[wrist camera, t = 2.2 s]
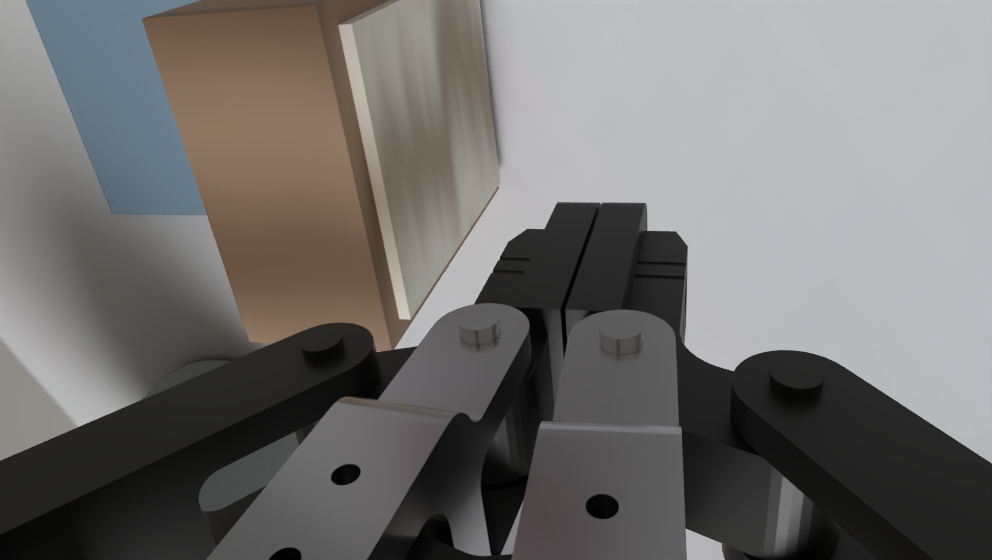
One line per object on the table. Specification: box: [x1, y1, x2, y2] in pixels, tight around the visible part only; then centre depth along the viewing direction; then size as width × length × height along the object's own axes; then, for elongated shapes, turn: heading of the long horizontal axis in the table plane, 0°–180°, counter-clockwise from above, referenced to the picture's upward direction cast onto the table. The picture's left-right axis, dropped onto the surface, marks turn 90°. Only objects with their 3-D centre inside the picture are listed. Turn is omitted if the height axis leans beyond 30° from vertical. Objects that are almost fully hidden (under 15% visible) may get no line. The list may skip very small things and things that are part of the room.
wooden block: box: [142, 0, 500, 351], centre depth 20 cm, size 8×4×10 cm, turn 6°
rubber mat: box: [26, 0, 207, 215], centre depth 27 cm, size 10×12×1 cm
